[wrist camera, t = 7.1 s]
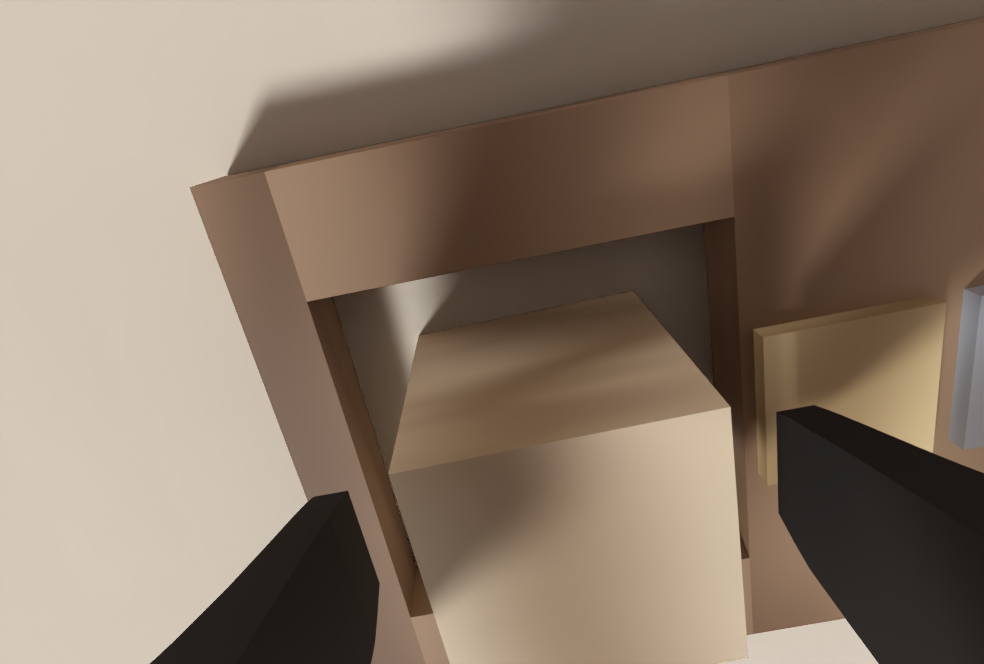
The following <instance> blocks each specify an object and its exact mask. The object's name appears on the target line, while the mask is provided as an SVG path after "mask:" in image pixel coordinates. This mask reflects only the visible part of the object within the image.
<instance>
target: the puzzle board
mask: <svg viewBox="0 0 984 664" xmlns="http://www.w3.org/2000/svg"><path fill="white" fill-rule="evenodd" d="M190 189H191V192H192V195H193V197H194V200H195V203H196V205H197V208H198V211H199V213H200V216H201V219H202V221H203V224H204V227H205V229H206V232H207V235H208V237H209V240H210V243H211V245H212V248H213V251H214V253H215V256H216V258H217V261H218V264H219V266H220V269H221V272H222V274H223V277H224V280H225V282H226V285H227V288H228V290H229V293H230V296H231V298H232V301H233V304H234V306H235V309H236V312H237V314H238V317H239V319H240V322H241V325H242V327H243V330H244V333H245V335H246V338H247V341H248V343H249V346H250V349H251V351H252V354H253V357H254V359H255V362H256V365H257V367H258V370H259V373H260V375H261V378H262V381H263V383H264V386H265V388H266V391H267V394H268V396H269V399H270V402H271V404H272V407H273V410H274V412H275V415H276V418H277V420H278V423H279V426H280V428H281V431H282V434H283V436H284V439H285V442H286V444H287V447H288V450H289V452H290V455H291V457H292V460H293V463H294V465H295V468H296V471H297V473H298V476H299V479H300V481H301V484H302V487H303V489H304V492H305V495H306V497H307V500H308V501H309V500H310V499H311V498H312V497H315V496H321V495H326V494H332V493H337V492H343V491H348V492H349V495H350V498H351V501H352V504H353V507H354V510H355V513H356V516H357V519H358V522H359V525H360V527H361V530H362V533H363V536H364V539H365V542H366V545H367V548H368V551H369V554H370V557H371V559H372V562H373V565H374V568H375V571H376V574H377V577H378V580H379V583H380V586H379V601H378V616H377V627H376V638H375V646H374V651H373V656H372V661H371V664H450V662H449V659H448V656H447V653H446V650H445V647H444V644H443V641H442V638H441V635H440V632H439V629H438V626H437V623H436V620H435V617H434V613H433V610H432V607H431V604H430V601H429V598H428V595H427V592H426V589H425V586H424V583H423V580H422V577H421V574H420V571H419V568H416V565H415V562H414V559H413V556H412V552H411V549H410V546H409V543H408V539H407V536H406V533H405V530H404V527H403V523H402V520H401V517H400V514H399V510H398V507H397V504H396V501H395V498H394V494H393V491H392V488H391V485H390V482H389V478H388V475H387V472H386V469H385V465H384V462H383V459H382V456H381V453H380V449H379V446H378V443H377V440H376V436H375V433H374V430H373V427H372V424H371V420H370V417H369V414H368V411H367V408H366V404H365V401H364V398H363V395H362V391H361V388H360V385H359V382H358V379H357V375H356V372H355V369H354V366H353V362H352V359H351V356H350V353H349V350H348V346H347V343H346V340H345V337H344V333H343V330H342V327H341V324H340V321H339V317H338V314H337V311H336V308H335V305H334V301H333V298H332V297H333V296H338V295H343V294H348V293H353V292H358V291H363V290H368V289H373V288H378V287H383V286H388V285H393V284H398V283H403V282H408V281H413V280H419V279H424V278H429V277H434V276H439V275H444V274H449V273H454V272H459V271H464V270H469V269H474V268H479V267H484V266H489V265H494V264H499V263H504V262H509V261H514V260H519V259H524V258H529V257H534V256H539V255H544V254H549V253H554V252H559V251H564V250H569V249H574V248H579V247H584V246H589V245H594V244H599V243H604V242H609V241H614V240H619V239H624V238H630V237H635V236H640V235H645V234H650V233H655V232H660V231H665V230H670V229H675V228H680V227H685V226H690V225H695V224H700V223H704V232H705V248H706V263H707V279H708V294H709V310H710V325H711V341H712V356H713V372H714V387H715V389H716V390H717V391H718V392H719V394H720V395H721V396H722V397H723V398H724V400H725V401H726V402H727V403H728V404H729V406H730V407H731V421H732V435H733V449H734V463H735V477H736V491H737V506H738V520H739V534H740V548H741V562H742V577H743V591H744V605H745V619H746V633H747V635H750V634H756V633H761V632H767V631H773V630H779V629H785V628H791V627H797V626H803V625H808V624H814V623H820V622H826V621H832V620H838V619H844V618H845V617H844V616H843V614H842V613H841V612H840V610H839V609H838V608H837V606H836V605H835V603H834V602H833V601H832V599H831V598H830V597H829V595H828V594H827V592H826V591H825V590H824V588H823V587H822V586H821V584H820V583H819V581H818V580H817V579H816V577H815V576H814V574H813V573H812V572H811V570H810V569H809V567H808V565H807V564H806V562H805V560H804V558H803V557H802V555H801V553H800V551H799V550H798V548H797V546H796V545H795V543H794V541H793V539H792V537H791V535H790V533H789V532H788V530H787V528H786V526H785V524H784V522H783V521H782V519H781V517H780V515H779V513H778V471H777V426H776V412H778V411H784V410H789V409H795V408H800V407H806V406H811V405H815V406H818V407H821V408H824V409H827V410H830V411H832V412H835V413H838V414H840V415H843V416H845V417H848V418H850V419H852V420H855V421H857V422H860V423H862V424H864V425H867V426H869V427H872V428H874V429H876V430H879V431H881V432H883V433H886V434H888V435H891V436H893V437H895V438H898V439H900V440H903V441H905V442H907V443H910V444H912V445H914V446H917V447H919V448H922V449H924V450H927V451H929V452H931V453H934V454H936V455H939V456H941V457H944V458H946V459H949V460H951V461H954V462H956V463H959V464H961V465H964V466H966V467H969V468H972V469H974V470H977V471H979V472H982V473H984V18H979V19H975V20H970V21H965V22H960V23H955V24H951V25H946V26H941V27H936V28H931V29H927V30H922V31H917V32H912V33H908V34H903V35H898V36H893V37H888V38H884V39H879V40H874V41H869V42H865V43H860V44H855V45H850V46H845V47H841V48H836V49H831V50H826V51H821V52H817V53H812V54H807V55H802V56H798V57H793V58H788V59H783V60H778V61H774V62H769V63H764V64H759V65H754V66H750V67H745V68H740V69H735V70H731V71H726V72H721V73H716V74H711V75H707V76H702V77H697V78H692V79H688V80H683V81H678V82H673V83H668V84H664V85H659V86H654V87H649V88H644V89H640V90H635V91H630V92H625V93H621V94H616V95H611V96H606V97H601V98H597V99H592V100H587V101H582V102H577V103H573V104H568V105H563V106H558V107H554V108H549V109H544V110H539V111H534V112H530V113H525V114H520V115H515V116H511V117H506V118H501V119H496V120H491V121H487V122H482V123H477V124H472V125H467V126H463V127H458V128H453V129H448V130H444V131H439V132H434V133H429V134H424V135H420V136H415V137H410V138H405V139H401V140H396V141H391V142H386V143H381V144H377V145H372V146H367V147H362V148H357V149H353V150H348V151H343V152H338V153H334V154H329V155H324V156H319V157H314V158H310V159H305V160H300V161H295V162H290V163H286V164H281V165H276V166H271V167H267V168H262V169H257V170H252V171H247V172H243V173H238V174H233V175H228V176H224V177H221V178H218V179H215V180H212V181H209V182H205V183H202V184H199V185H196V186H193V187H190Z"/></svg>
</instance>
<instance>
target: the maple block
mask: <svg viewBox="0 0 984 664" xmlns="http://www.w3.org/2000/svg"><path fill="white" fill-rule="evenodd" d="M388 476H389V479H390V482H391V485H392V488H393V491H394V494H395V497H396V500H397V503H398V506H399V509H400V512H401V516H402V519H403V522H404V525H405V528H406V531H407V534H408V537H409V540H410V543H411V546H412V549H413V552H414V555H415V558H416V561H417V565H418V568H419V571H420V574H421V577H422V580H423V583H424V586H425V589H426V592H427V595H428V598H429V601H430V604H431V607H432V610H433V613H434V617H435V620H436V623H437V626H438V629H439V632H440V635H441V638H442V641H443V644H444V647H445V650H446V653H447V656H448V659H449V662H450V664H716V663H722V662H728V661H733V660H739V659H744V658H748V647H747V633H746V619H745V605H744V591H743V577H742V562H741V548H740V534H739V520H738V506H737V491H736V477H735V463H734V449H733V435H732V421H731V407H730V406H729V404H728V403H727V402H726V401H725V400H724V398H723V397H722V396H721V395H720V394H719V392H718V391H717V390H716V389H715V388H714V387H713V385H712V384H711V383H710V382H709V381H708V379H707V378H706V377H705V376H704V375H703V373H702V372H701V371H700V370H699V369H698V367H697V366H696V365H695V364H694V363H693V362H692V360H691V359H690V358H689V357H688V356H687V354H686V353H685V352H684V351H683V350H682V348H681V347H680V346H679V345H678V344H677V342H676V341H675V340H674V339H673V338H672V336H671V335H670V334H669V333H668V332H667V331H666V329H665V328H664V327H663V326H662V325H661V323H660V322H659V321H658V320H657V319H656V317H655V316H654V315H653V314H652V313H651V311H650V310H649V309H648V308H647V307H646V306H645V304H644V303H643V302H642V301H641V300H640V298H639V297H638V296H637V295H636V294H635V292H634V291H629V292H625V293H620V294H615V295H610V296H605V297H601V298H596V299H591V300H586V301H581V302H577V303H572V304H567V305H562V306H557V307H553V308H548V309H543V310H538V311H533V312H529V313H524V314H519V315H514V316H509V317H505V318H500V319H495V320H490V321H485V322H481V323H476V324H471V325H466V326H462V327H457V328H452V329H447V330H442V331H438V332H433V333H428V334H423V335H419V337H418V342H417V346H416V351H415V355H414V360H413V364H412V369H411V373H410V378H409V382H408V387H407V392H406V396H405V401H404V405H403V410H402V414H401V419H400V423H399V428H398V432H397V437H396V441H395V446H394V450H393V455H392V459H391V464H390V469H389V473H388Z"/></svg>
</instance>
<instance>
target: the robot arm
mask: <svg viewBox="0 0 984 664" xmlns="http://www.w3.org/2000/svg"><path fill="white" fill-rule="evenodd" d="M776 426H777V471H778V513H779V515H780V517H781V519H782V521H783V522H784V524H785V526H786V528H787V530H788V532H789V533H790V535H791V537H792V539H793V541H794V543H795V545H796V546H797V548H798V550H799V551H800V553H801V555H802V557H803V558H804V560H805V562H806V564H807V565H808V567H809V569H810V570H811V572H812V573H813V574H814V576H815V577H816V579H817V580H818V581H819V583H820V584H821V586H822V587H823V588H824V590H825V591H826V592H827V594H828V595H829V597H830V598H831V599H832V601H833V602H834V603H835V605H836V606H837V608H838V609H839V610H840V612H841V613H842V614H843V616H844V617H845V618H846V620H847V621H848V623H849V624H850V625H851V627H852V628H853V629H854V631H855V632H856V633H857V635H858V636H859V637H860V639H861V640H862V641H863V643H864V644H865V645H866V647H867V648H868V650H869V651H870V652H871V654H872V655H873V656H874V658H875V659H876V660H877V662H878V663H879V664H984V473H982V472H979V471H977V470H974V469H972V468H969V467H966V466H964V465H961V464H959V463H956V462H954V461H951V460H949V459H946V458H944V457H941V456H939V455H936V454H934V453H931V452H929V451H927V450H924V449H922V448H919V447H917V446H914V445H912V444H910V443H907V442H905V441H903V440H900V439H898V438H895V437H893V436H891V435H888V434H886V433H883V432H881V431H879V430H876V429H874V428H872V427H869V426H867V425H864V424H862V423H860V422H857V421H855V420H852V419H850V418H848V417H845V416H843V415H840V414H838V413H835V412H832V411H830V410H827V409H824V408H821V407H818V406H815V405H811V406H806V407H800V408H795V409H789V410H784V411H778V412H776ZM379 586H380V583H379V580H378V577H377V574H376V571H375V568H374V565H373V562H372V559H371V557H370V554H369V551H368V548H367V545H366V542H365V539H364V536H363V533H362V530H361V527H360V525H359V522H358V519H357V516H356V513H355V510H354V507H353V504H352V501H351V498H350V495H349V492H348V491H343V492H337V493H332V494H326V495H321V496H315V497H312V498H311V499H310V500H309V501H308V502H307V503H306V504H305V505H304V506H303V507H302V508H301V509H300V510H299V511H298V512H297V513H296V515H295V516H294V517H293V518H292V519H291V520H290V521H289V522H288V523H287V524H286V525H285V526H284V527H283V529H282V530H281V531H280V532H279V533H278V534H277V535H276V536H275V537H274V538H273V540H272V541H271V542H270V543H269V544H268V545H267V546H266V547H265V548H264V549H263V550H262V552H261V553H260V554H259V555H258V556H257V557H256V558H255V559H254V560H253V561H252V562H251V563H250V564H249V565H248V567H247V568H246V569H245V570H244V571H243V572H242V573H241V574H240V575H239V576H238V577H237V578H236V579H235V581H234V582H233V583H232V584H231V585H230V586H229V587H228V588H227V589H226V590H225V591H224V592H223V593H222V594H221V595H220V596H219V597H218V598H217V599H216V600H215V601H214V602H213V603H212V604H211V605H210V606H209V607H208V608H207V609H206V610H205V611H204V612H203V613H202V614H201V615H200V616H199V617H198V618H197V619H196V620H195V621H194V622H193V623H192V624H191V625H190V626H189V627H188V628H187V629H186V630H185V631H184V632H183V633H182V634H181V635H180V636H179V637H178V638H177V639H176V640H175V641H174V642H173V643H172V644H171V645H170V646H169V647H168V648H166V649H165V650H164V651H163V652H162V653H161V654H160V655H159V656H158V657H157V658H156V659H155V660H153V661H152V662H151V663H150V664H371V661H372V656H373V651H374V646H375V638H376V627H377V616H378V601H379Z"/></svg>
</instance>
